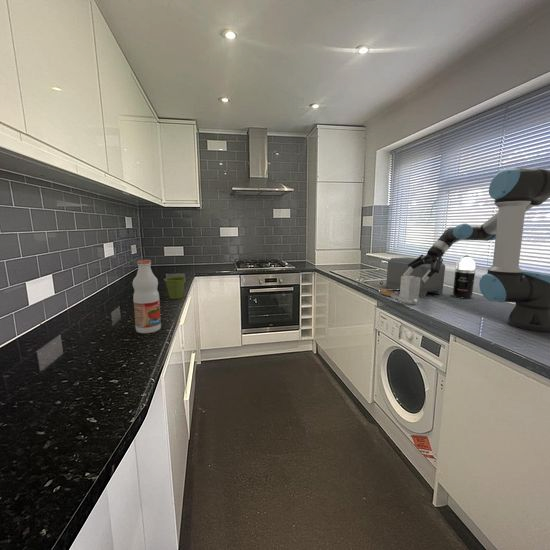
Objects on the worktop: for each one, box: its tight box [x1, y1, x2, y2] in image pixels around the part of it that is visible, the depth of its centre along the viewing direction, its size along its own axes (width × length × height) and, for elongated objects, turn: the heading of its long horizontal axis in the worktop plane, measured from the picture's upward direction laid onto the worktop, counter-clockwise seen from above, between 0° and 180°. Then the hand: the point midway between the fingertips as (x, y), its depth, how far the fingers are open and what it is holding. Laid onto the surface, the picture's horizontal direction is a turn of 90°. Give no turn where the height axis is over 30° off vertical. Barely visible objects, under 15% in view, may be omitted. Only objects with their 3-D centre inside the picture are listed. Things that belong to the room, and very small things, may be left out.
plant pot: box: [163, 276, 187, 300], centre depth 167 cm, size 12×12×11 cm
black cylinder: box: [452, 254, 477, 299], centre depth 175 cm, size 10×10×25 cm
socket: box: [399, 276, 421, 301], centre depth 160 cm, size 7×7×12 cm
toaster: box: [385, 257, 446, 298], centre depth 192 cm, size 19×33×20 cm, turn 23°
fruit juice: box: [132, 259, 162, 334], centre depth 115 cm, size 9×9×28 cm
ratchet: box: [380, 289, 419, 306], centre depth 169 cm, size 27×10×8 cm, turn 15°
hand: (413, 278), depth 161 cm, fingers open, 13 cm apart
